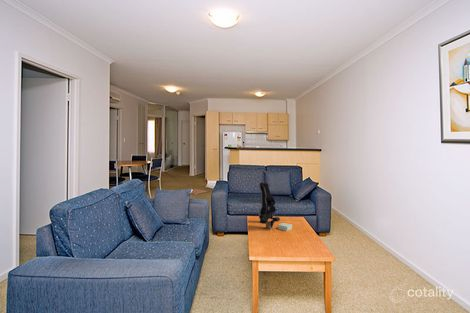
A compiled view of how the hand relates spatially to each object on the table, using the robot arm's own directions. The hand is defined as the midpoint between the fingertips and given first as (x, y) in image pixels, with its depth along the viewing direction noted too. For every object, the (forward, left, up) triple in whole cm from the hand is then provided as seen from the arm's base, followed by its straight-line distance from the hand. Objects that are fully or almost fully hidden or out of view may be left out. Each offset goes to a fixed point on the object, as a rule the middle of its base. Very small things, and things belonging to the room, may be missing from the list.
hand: (269, 227), depth 236 cm
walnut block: (0, 0, -1) cm, 1 cm away
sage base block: (+12, +8, -1) cm, 14 cm away
